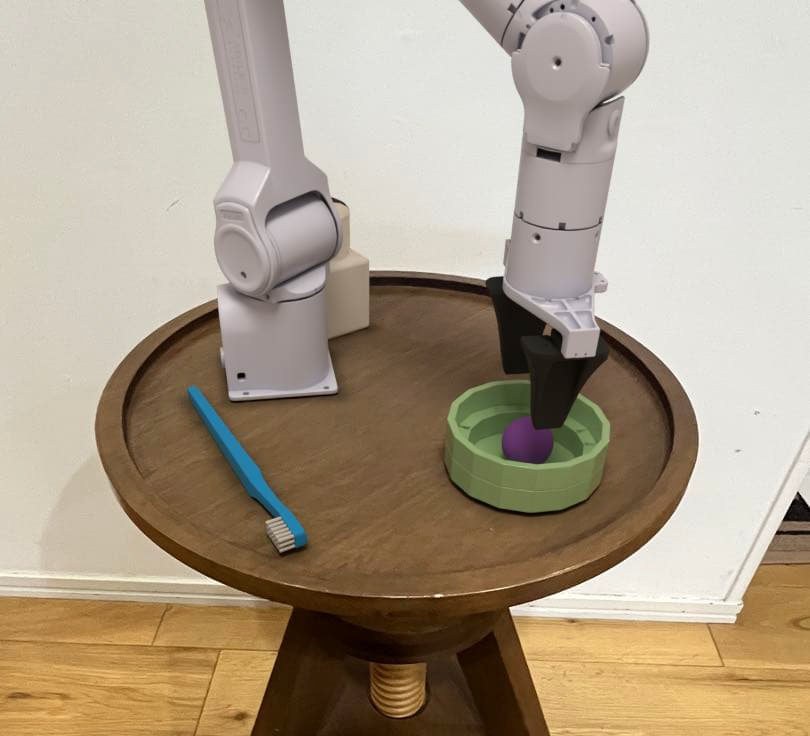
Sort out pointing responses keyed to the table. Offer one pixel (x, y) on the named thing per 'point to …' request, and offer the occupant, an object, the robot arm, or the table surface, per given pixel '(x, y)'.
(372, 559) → the table surface
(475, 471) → the bowl
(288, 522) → the toothbrush
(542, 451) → the ball
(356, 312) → the cylinder-topped cream block
